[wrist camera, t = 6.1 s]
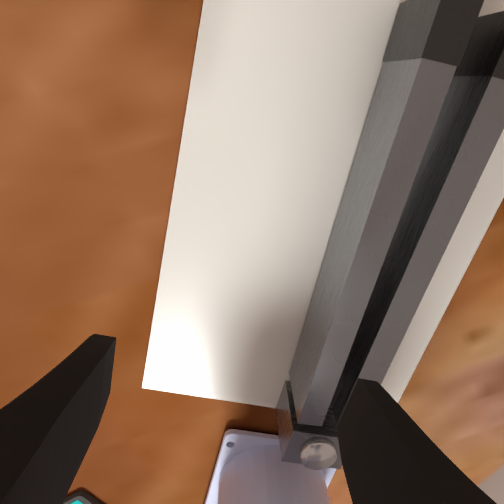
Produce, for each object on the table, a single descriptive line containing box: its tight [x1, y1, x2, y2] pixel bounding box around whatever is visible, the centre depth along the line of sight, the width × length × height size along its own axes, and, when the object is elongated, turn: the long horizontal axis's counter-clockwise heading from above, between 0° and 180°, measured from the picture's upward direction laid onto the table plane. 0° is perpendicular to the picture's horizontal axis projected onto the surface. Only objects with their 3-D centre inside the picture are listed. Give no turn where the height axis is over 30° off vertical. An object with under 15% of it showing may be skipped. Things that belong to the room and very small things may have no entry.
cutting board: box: [142, 0, 504, 408], centre depth 19 cm, size 24×15×1 cm, turn 167°
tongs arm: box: [289, 0, 484, 426], centre depth 17 cm, size 18×1×4 cm, turn 169°
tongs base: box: [276, 11, 504, 470], centre depth 17 cm, size 21×3×4 cm, turn 167°
